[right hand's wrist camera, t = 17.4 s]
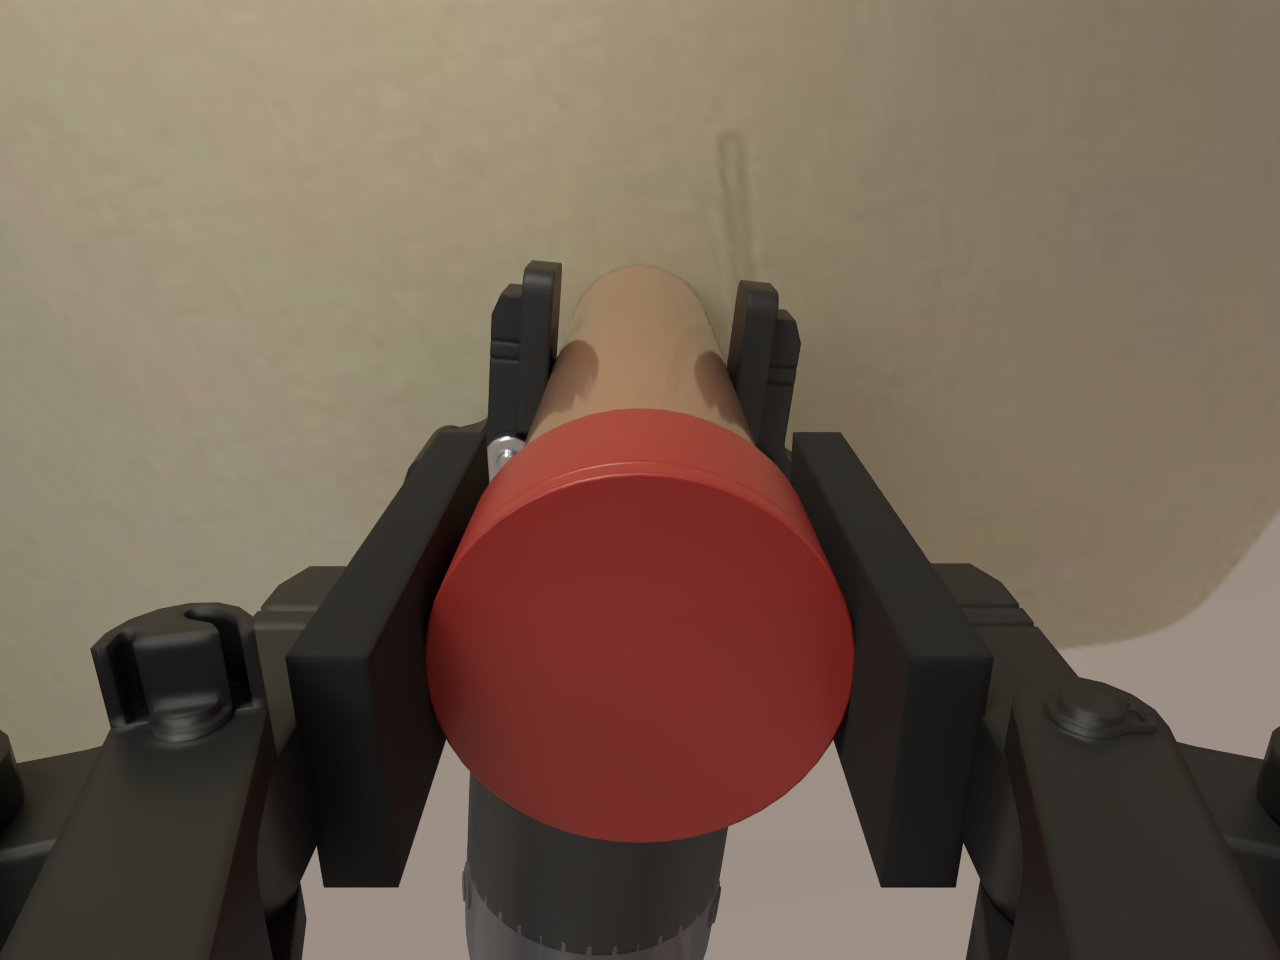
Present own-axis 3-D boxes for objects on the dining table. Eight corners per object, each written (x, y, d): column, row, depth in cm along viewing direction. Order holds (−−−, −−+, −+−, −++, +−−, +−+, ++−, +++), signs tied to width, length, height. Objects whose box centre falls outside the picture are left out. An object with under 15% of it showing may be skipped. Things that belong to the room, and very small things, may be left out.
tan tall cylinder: (542, 325, 27) (387, 619, 11) (650, 235, 26) (668, 402, 10) (630, 428, 29) (616, 838, 12) (736, 345, 28) (886, 664, 11)
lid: (582, 771, 14) (570, 899, 11) (392, 518, 12) (335, 606, 10) (874, 631, 13) (925, 739, 10) (710, 337, 11) (728, 388, 9)
